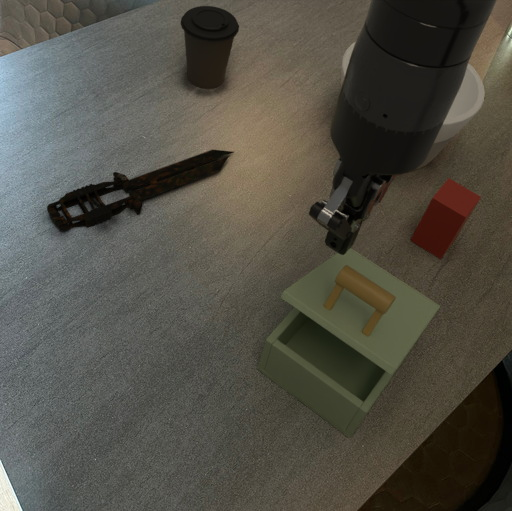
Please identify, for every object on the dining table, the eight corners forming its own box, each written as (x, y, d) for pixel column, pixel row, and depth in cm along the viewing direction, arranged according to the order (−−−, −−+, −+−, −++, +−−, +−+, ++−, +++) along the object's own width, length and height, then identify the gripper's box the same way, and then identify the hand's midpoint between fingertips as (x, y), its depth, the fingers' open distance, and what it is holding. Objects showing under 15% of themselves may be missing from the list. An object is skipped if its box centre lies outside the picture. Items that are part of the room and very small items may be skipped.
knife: (228, 148, 85) (229, 140, 84) (251, 180, 82) (252, 173, 81) (42, 200, 75) (40, 191, 74) (59, 238, 72) (57, 231, 71)
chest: (349, 438, 62) (366, 413, 57) (256, 369, 65) (265, 339, 60) (417, 341, 70) (437, 311, 65) (331, 283, 73) (344, 250, 68)
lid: (391, 375, 52) (423, 329, 50) (279, 297, 55) (304, 250, 53) (436, 311, 65) (463, 272, 62) (343, 251, 68) (365, 211, 66)
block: (455, 239, 80) (481, 196, 74) (440, 259, 78) (466, 217, 71) (425, 220, 81) (448, 177, 75) (410, 240, 79) (432, 197, 73)
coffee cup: (226, 100, 91) (232, 39, 83) (171, 87, 91) (173, 25, 83) (238, 67, 96) (245, 8, 88) (186, 55, 96) (189, -6, 88)
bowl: (473, 183, 87) (508, 124, 78) (341, 186, 83) (362, 124, 75) (430, 93, 98) (456, 33, 90) (311, 93, 94) (327, 29, 86)
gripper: (398, 168, 39) (333, 315, 52) (484, 75, 46) (407, 226, 59) (299, 109, 41) (262, 266, 54) (396, 29, 48) (341, 185, 62)
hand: (338, 245), depth 57 cm, fingers closed
